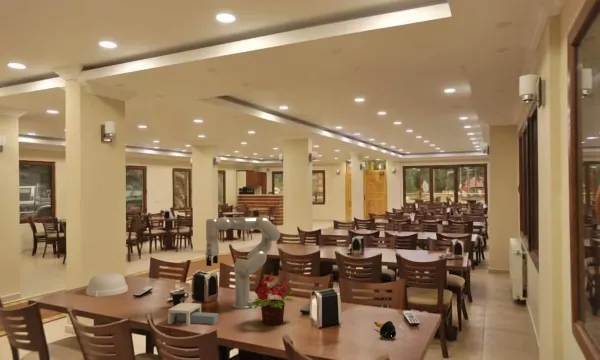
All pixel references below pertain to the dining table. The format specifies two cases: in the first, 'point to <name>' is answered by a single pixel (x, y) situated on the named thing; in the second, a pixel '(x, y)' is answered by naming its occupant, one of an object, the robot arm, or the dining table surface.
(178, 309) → the low shelf
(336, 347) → the dining table surface
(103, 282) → the dome cover
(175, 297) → the coffee mug
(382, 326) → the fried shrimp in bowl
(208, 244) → the robot arm
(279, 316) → the potted plant
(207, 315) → the grey rectangular block
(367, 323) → the dining table surface
